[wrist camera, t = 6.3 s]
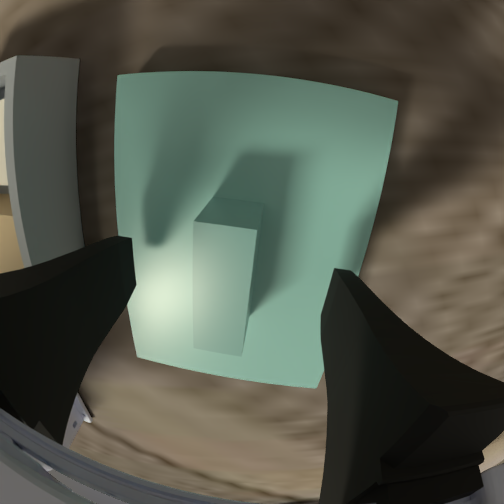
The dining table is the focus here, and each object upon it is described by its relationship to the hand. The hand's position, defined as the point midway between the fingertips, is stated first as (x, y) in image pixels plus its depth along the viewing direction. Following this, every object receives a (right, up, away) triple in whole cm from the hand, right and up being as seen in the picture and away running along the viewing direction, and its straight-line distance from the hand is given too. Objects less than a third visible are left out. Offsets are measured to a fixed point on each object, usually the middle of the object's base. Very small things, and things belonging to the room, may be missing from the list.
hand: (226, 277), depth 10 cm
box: (-11, +5, +2) cm, 12 cm away
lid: (0, +1, +2) cm, 3 cm away
